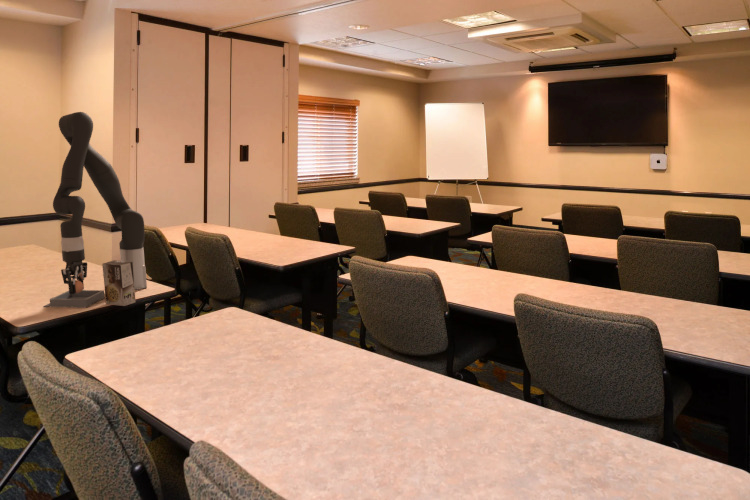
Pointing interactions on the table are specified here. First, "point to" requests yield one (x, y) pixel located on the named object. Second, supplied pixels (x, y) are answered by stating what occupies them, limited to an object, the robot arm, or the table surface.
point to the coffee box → (119, 282)
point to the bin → (77, 299)
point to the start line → (47, 305)
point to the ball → (78, 286)
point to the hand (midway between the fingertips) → (76, 291)
